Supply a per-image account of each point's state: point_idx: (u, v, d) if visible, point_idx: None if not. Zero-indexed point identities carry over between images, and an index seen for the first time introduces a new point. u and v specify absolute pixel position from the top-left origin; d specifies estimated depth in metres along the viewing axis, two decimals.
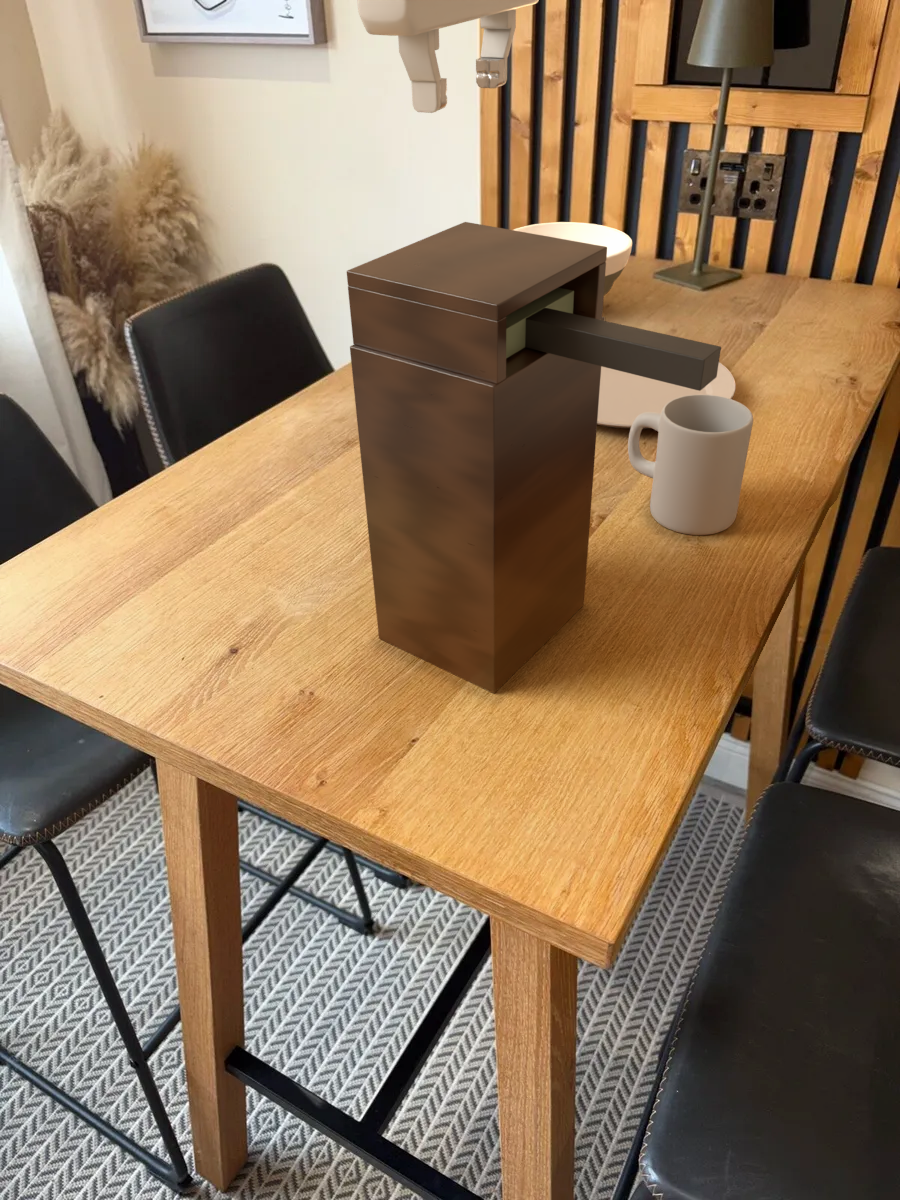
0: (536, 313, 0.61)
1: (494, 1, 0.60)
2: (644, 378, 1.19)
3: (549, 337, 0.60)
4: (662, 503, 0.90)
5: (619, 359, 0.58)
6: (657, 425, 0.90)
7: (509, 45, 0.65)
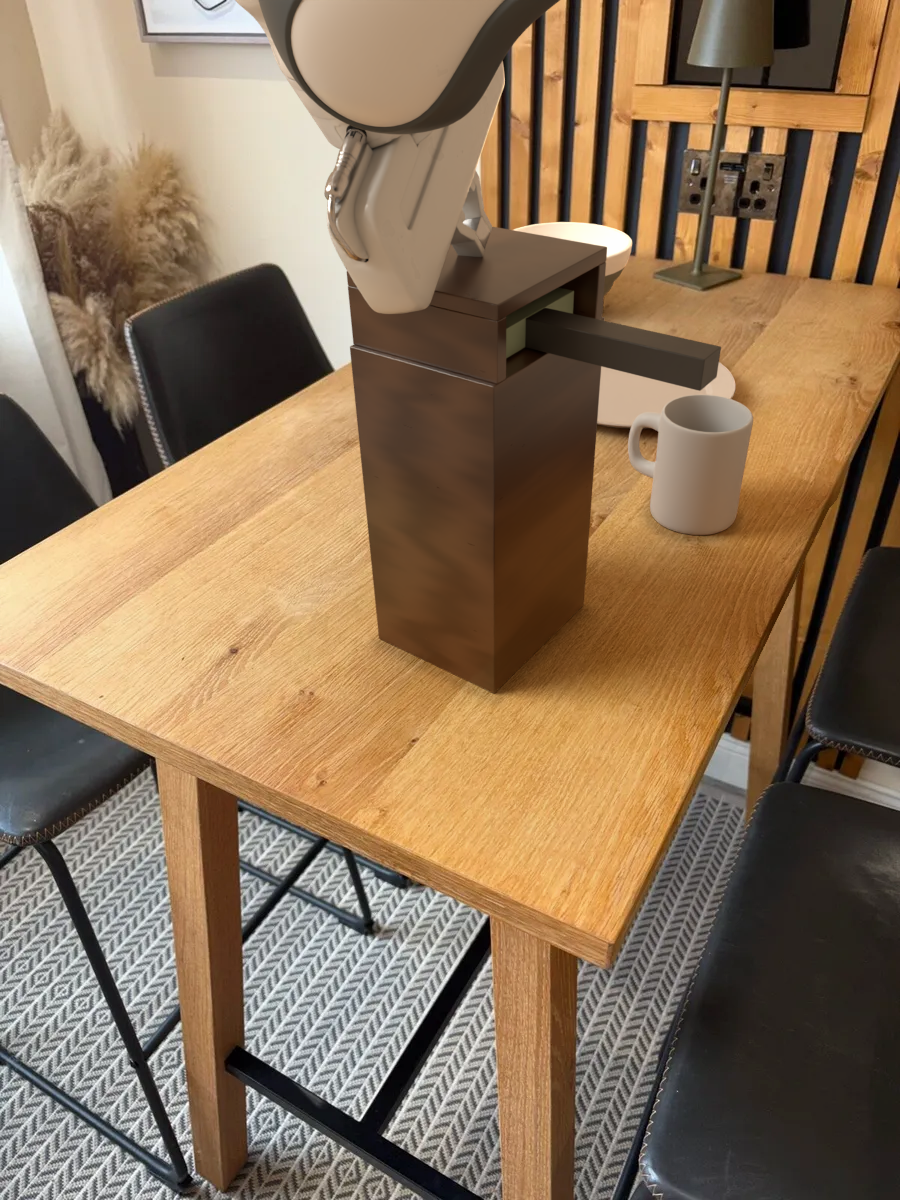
0: (536, 313, 0.61)
1: (472, 164, 0.58)
2: (644, 378, 1.19)
3: (549, 337, 0.60)
4: (662, 503, 0.90)
5: (619, 359, 0.58)
6: (657, 425, 0.90)
7: (481, 199, 0.61)
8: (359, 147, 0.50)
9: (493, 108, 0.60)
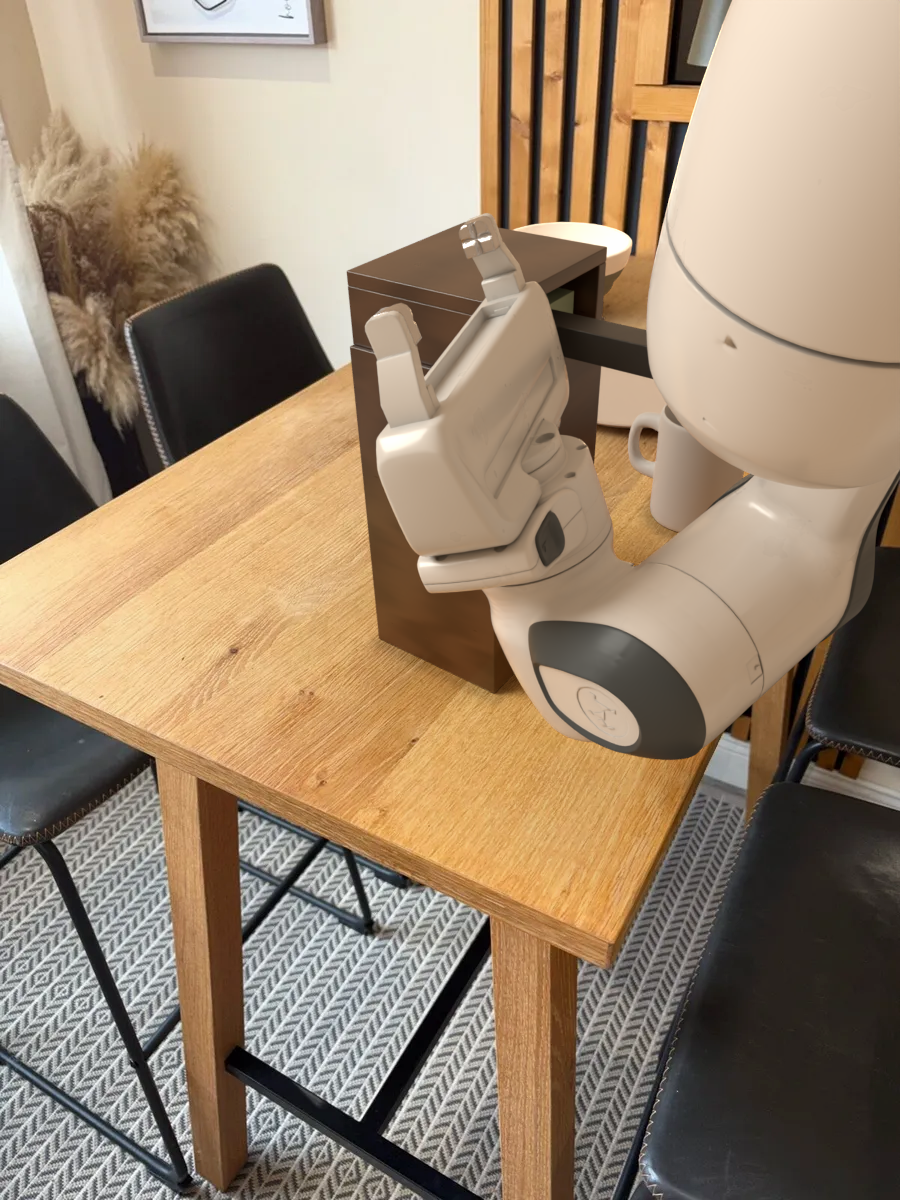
0: None
1: (496, 364, 0.47)
2: (644, 378, 1.19)
3: None
4: (662, 503, 0.90)
5: (619, 359, 0.58)
6: (657, 425, 0.90)
7: (417, 366, 0.41)
8: None
9: (463, 405, 0.43)
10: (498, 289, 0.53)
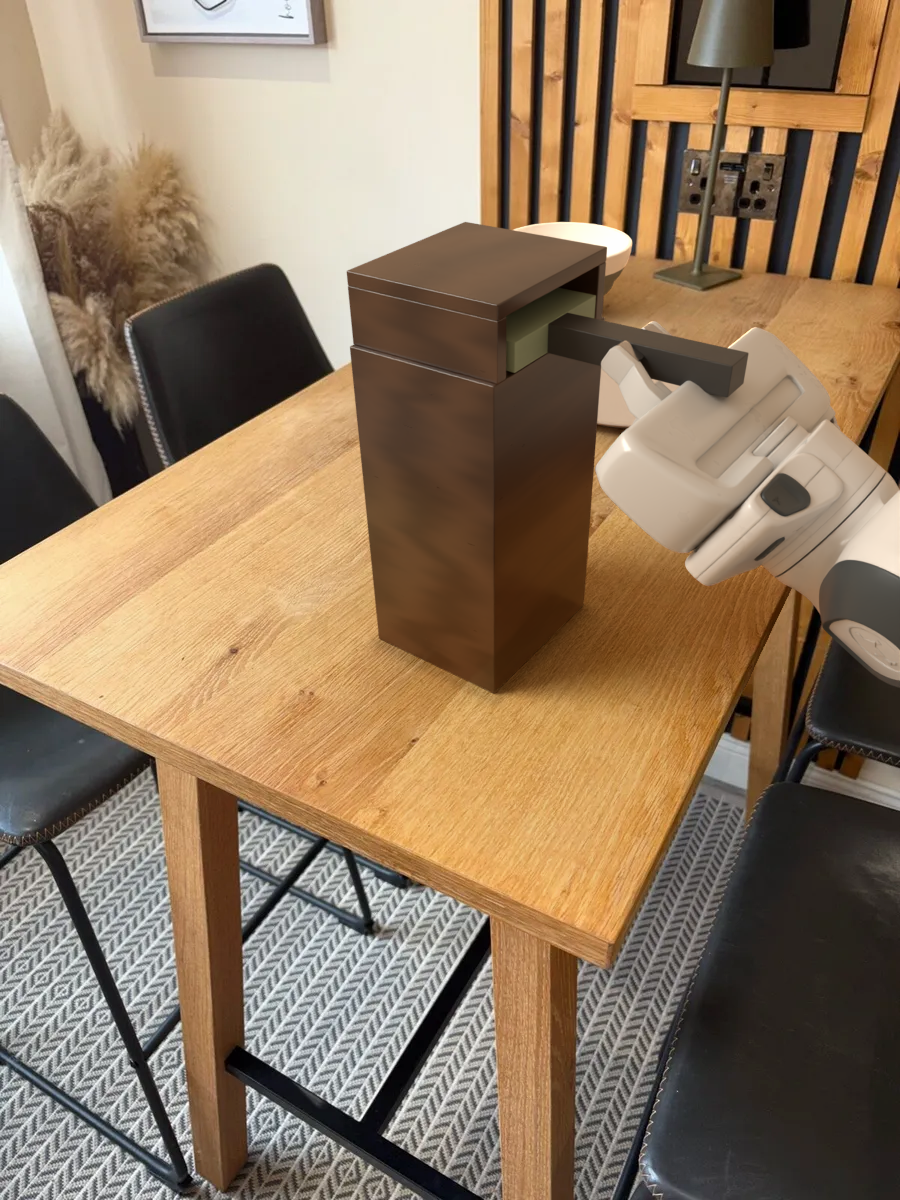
0: (558, 318, 0.60)
1: (698, 386, 0.55)
2: None
3: (572, 343, 0.59)
4: None
5: (644, 365, 0.57)
6: None
7: (641, 372, 0.55)
8: None
9: (655, 416, 0.52)
10: None
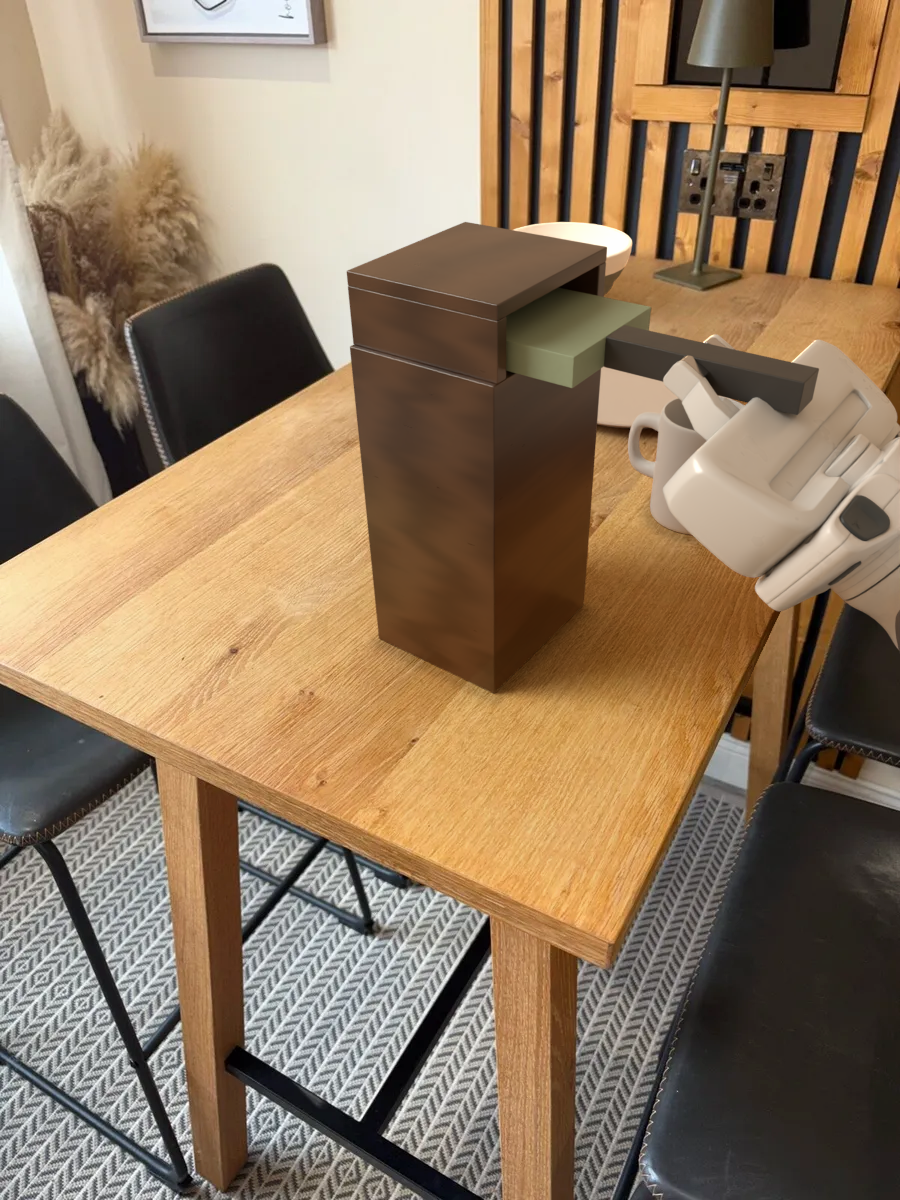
0: (616, 331, 0.58)
1: (766, 403, 0.53)
2: (644, 378, 1.19)
3: (631, 357, 0.57)
4: (662, 503, 0.90)
5: (708, 381, 0.55)
6: (657, 425, 0.90)
7: (707, 389, 0.53)
8: None
9: (726, 435, 0.50)
10: None
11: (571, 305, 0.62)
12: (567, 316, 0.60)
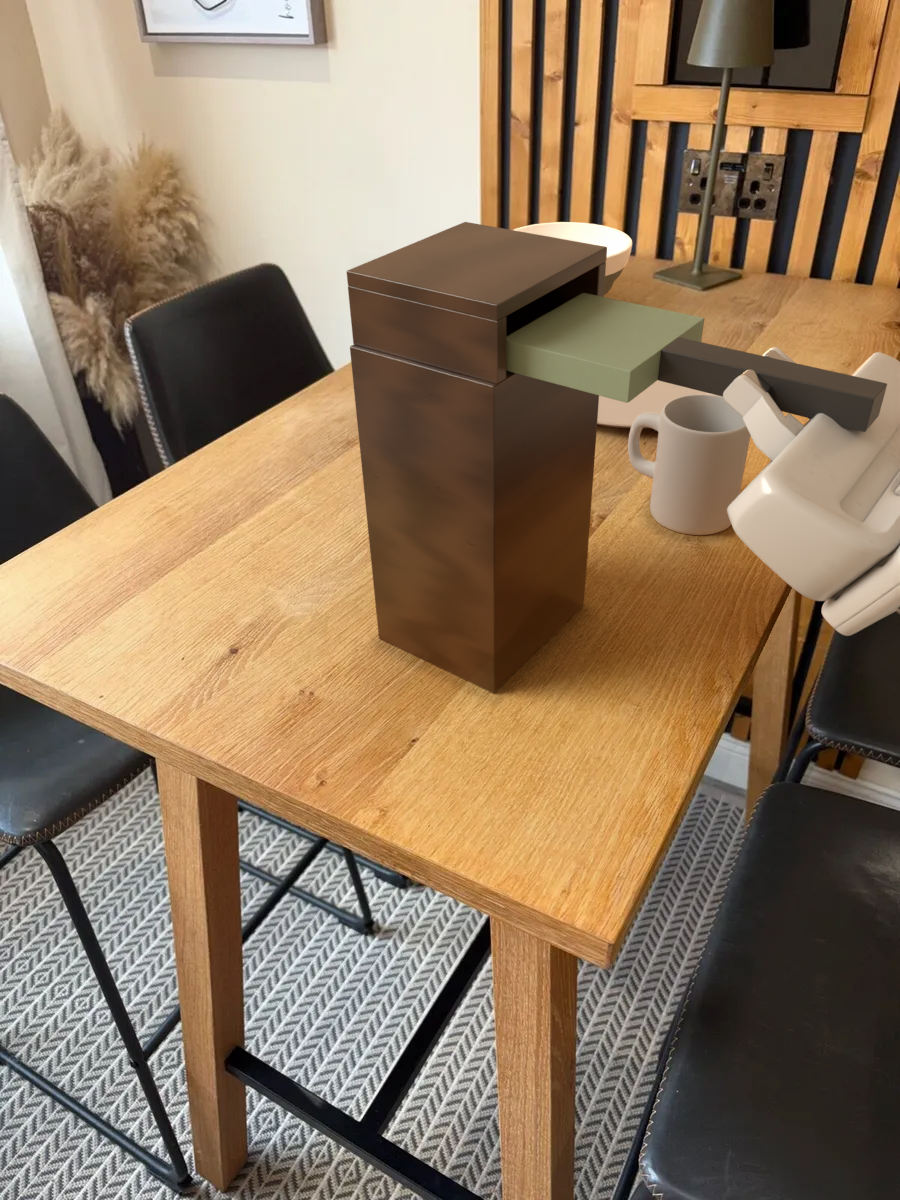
0: (671, 344, 0.56)
1: (832, 419, 0.51)
2: None
3: (687, 370, 0.55)
4: (662, 503, 0.90)
5: None
6: (657, 425, 0.90)
7: (770, 404, 0.51)
8: None
9: (794, 454, 0.48)
10: None
11: (622, 316, 0.60)
12: (618, 327, 0.58)
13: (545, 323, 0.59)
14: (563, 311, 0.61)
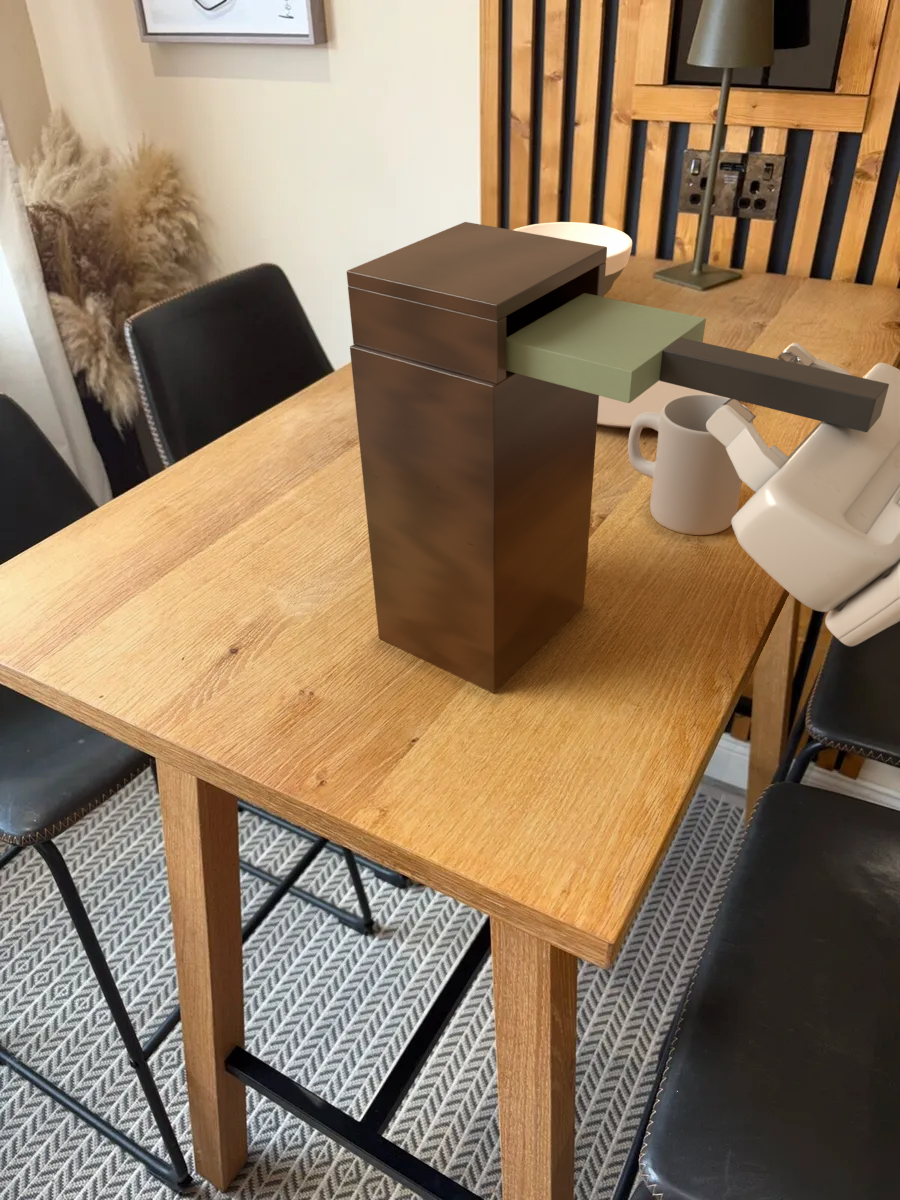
0: (672, 344, 0.56)
1: (835, 430, 0.51)
2: None
3: (689, 371, 0.55)
4: (662, 503, 0.90)
5: (772, 396, 0.53)
6: (657, 425, 0.90)
7: (754, 435, 0.50)
8: None
9: (797, 466, 0.48)
10: None
11: (623, 316, 0.60)
12: (619, 328, 0.58)
13: (546, 323, 0.59)
14: (565, 311, 0.61)
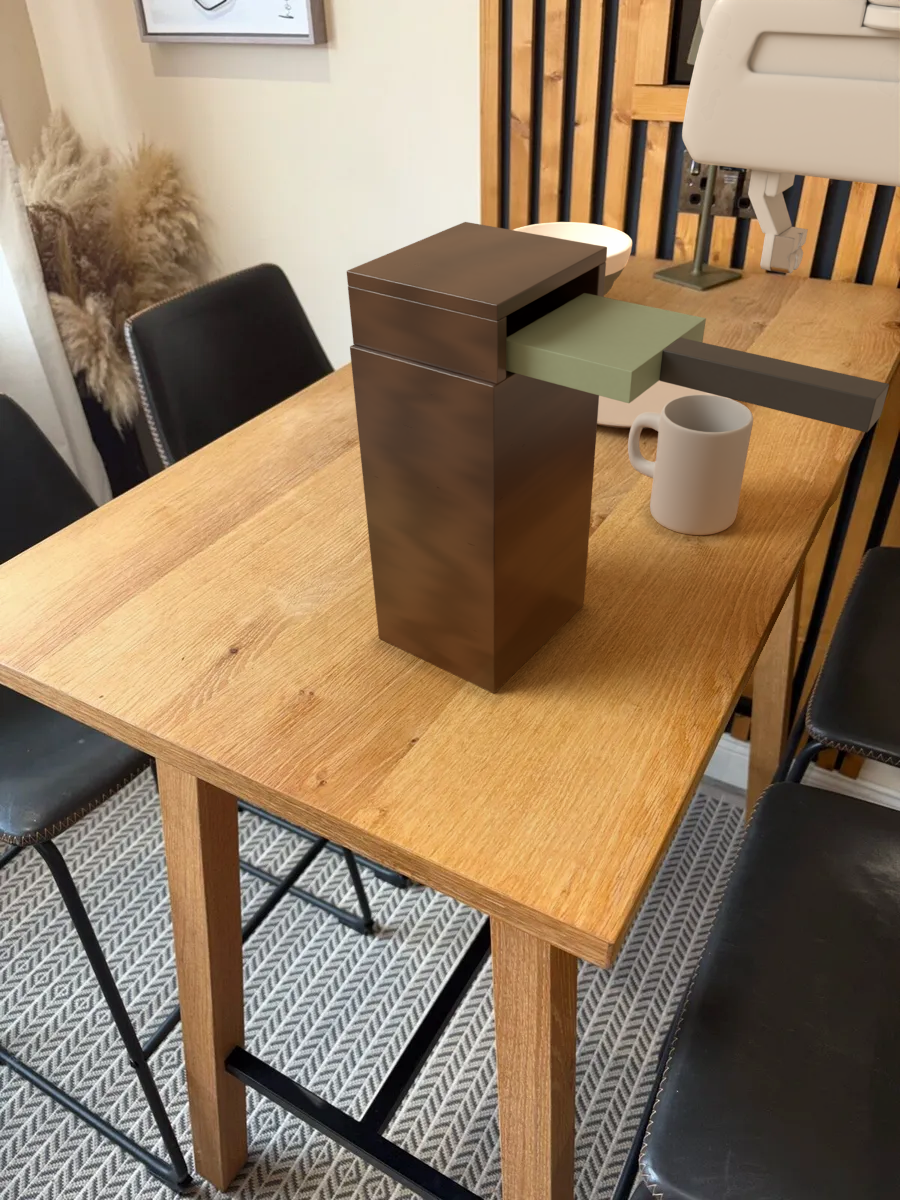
0: (672, 344, 0.56)
1: None
2: None
3: (689, 371, 0.55)
4: (662, 503, 0.90)
5: (772, 396, 0.53)
6: (657, 425, 0.90)
7: None
8: None
9: None
10: (788, 177, 0.43)
11: (623, 316, 0.60)
12: (619, 328, 0.58)
13: (546, 323, 0.59)
14: (565, 311, 0.61)
